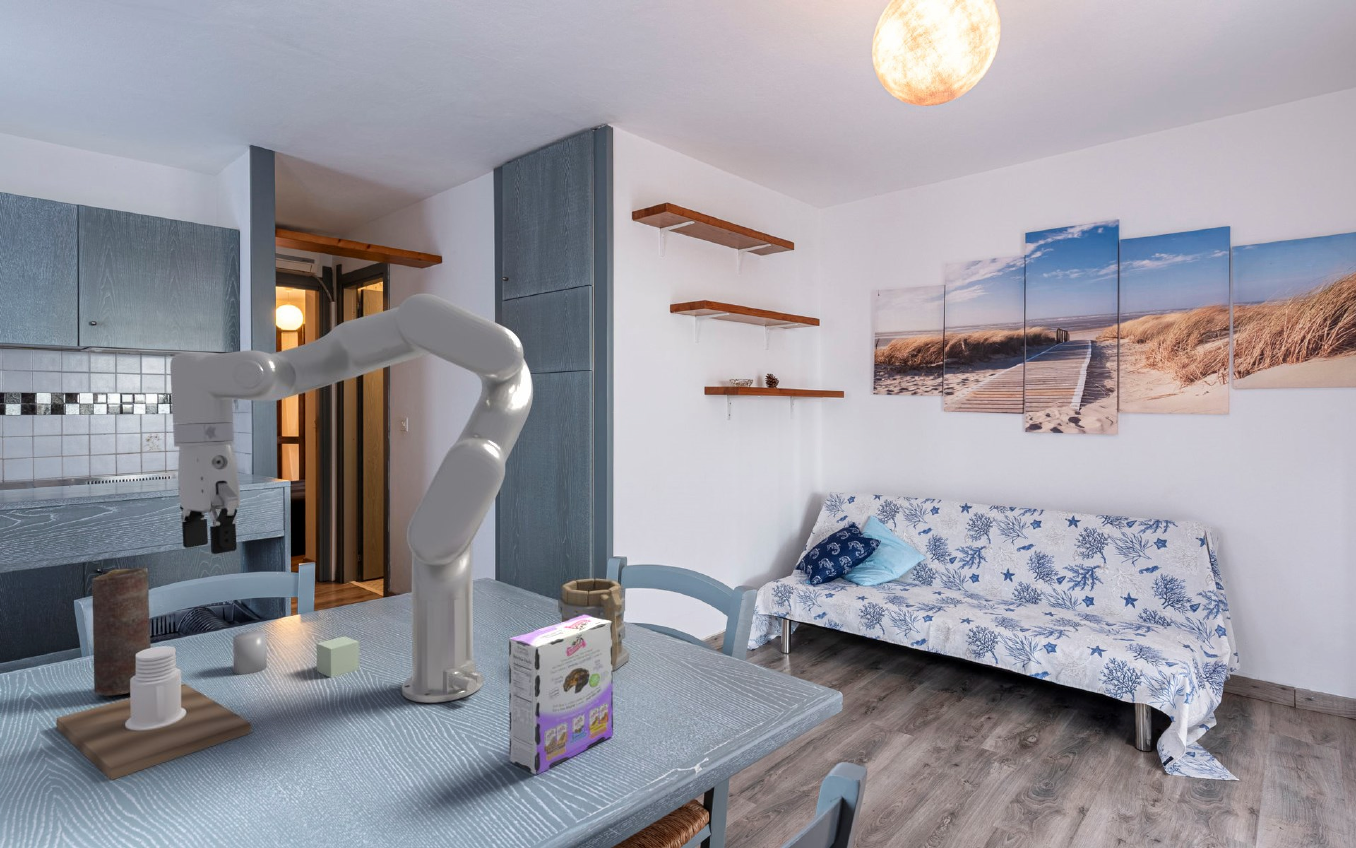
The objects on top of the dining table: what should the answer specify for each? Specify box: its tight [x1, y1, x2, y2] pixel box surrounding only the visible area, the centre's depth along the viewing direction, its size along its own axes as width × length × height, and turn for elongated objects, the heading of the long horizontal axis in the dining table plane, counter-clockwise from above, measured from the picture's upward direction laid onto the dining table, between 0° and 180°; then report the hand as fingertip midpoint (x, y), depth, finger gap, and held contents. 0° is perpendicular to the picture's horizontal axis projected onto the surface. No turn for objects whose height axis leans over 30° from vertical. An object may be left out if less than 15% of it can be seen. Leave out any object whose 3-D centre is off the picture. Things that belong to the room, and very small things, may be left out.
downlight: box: [125, 645, 186, 731], centre depth 101 cm, size 8×7×10 cm
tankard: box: [557, 577, 630, 672], centre depth 126 cm, size 20×13×15 cm, turn 23°
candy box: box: [508, 615, 614, 776], centre depth 96 cm, size 14×6×16 cm, turn 141°
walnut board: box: [56, 683, 252, 781], centre depth 101 cm, size 24×16×2 cm, turn 53°
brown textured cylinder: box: [91, 567, 152, 696], centre depth 115 cm, size 8×7×20 cm
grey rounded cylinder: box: [232, 630, 268, 676], centre depth 125 cm, size 5×5×6 cm
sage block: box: [316, 636, 360, 679], centre depth 125 cm, size 5×5×5 cm
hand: (209, 549), depth 107 cm, fingers open, 9 cm apart
